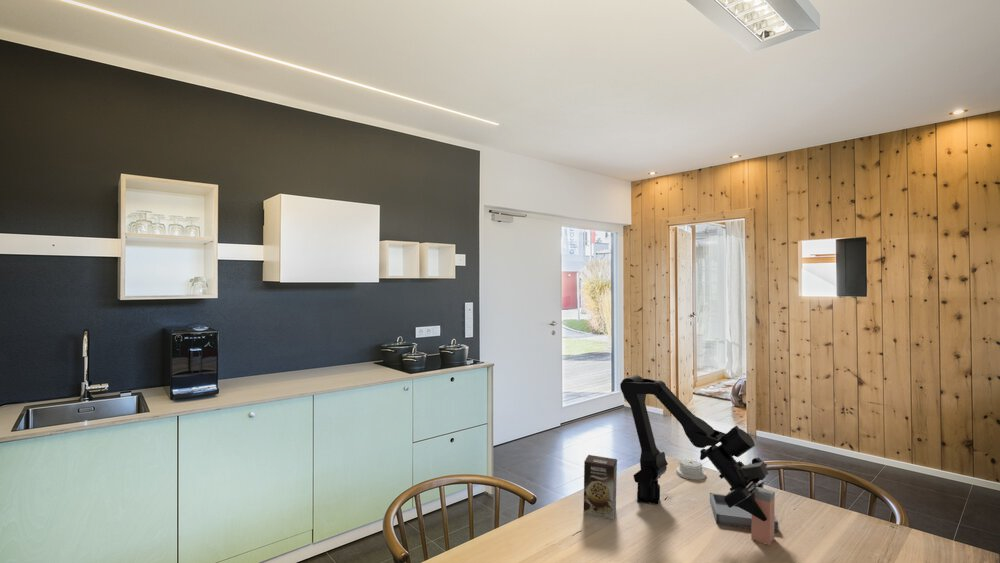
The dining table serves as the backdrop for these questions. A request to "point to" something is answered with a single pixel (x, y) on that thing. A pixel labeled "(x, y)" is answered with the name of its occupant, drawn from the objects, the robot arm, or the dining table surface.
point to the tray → (732, 513)
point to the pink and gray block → (766, 502)
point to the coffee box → (600, 486)
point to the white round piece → (691, 470)
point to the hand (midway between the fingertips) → (768, 516)
